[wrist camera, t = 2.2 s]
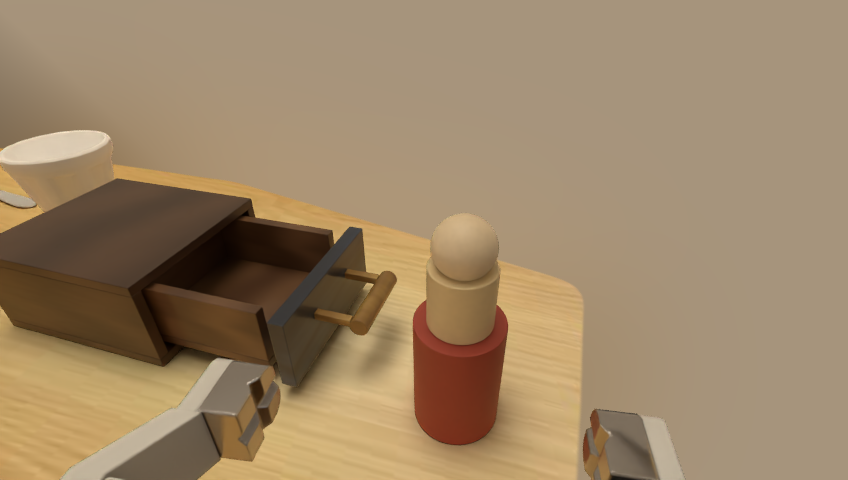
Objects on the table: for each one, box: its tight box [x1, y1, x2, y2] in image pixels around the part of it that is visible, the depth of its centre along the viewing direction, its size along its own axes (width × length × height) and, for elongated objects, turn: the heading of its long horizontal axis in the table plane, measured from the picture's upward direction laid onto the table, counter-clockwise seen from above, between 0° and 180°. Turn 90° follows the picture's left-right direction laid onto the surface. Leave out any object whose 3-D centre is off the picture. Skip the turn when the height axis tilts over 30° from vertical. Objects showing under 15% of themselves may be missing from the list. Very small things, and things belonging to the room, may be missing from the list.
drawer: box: [141, 215, 397, 387], centre depth 35 cm, size 19×12×6 cm, turn 73°
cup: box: [0, 130, 115, 212], centre depth 50 cm, size 10×10×9 cm
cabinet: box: [0, 179, 255, 366], centre depth 39 cm, size 16×14×8 cm
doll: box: [413, 213, 508, 445], centre depth 26 cm, size 6×6×15 cm
